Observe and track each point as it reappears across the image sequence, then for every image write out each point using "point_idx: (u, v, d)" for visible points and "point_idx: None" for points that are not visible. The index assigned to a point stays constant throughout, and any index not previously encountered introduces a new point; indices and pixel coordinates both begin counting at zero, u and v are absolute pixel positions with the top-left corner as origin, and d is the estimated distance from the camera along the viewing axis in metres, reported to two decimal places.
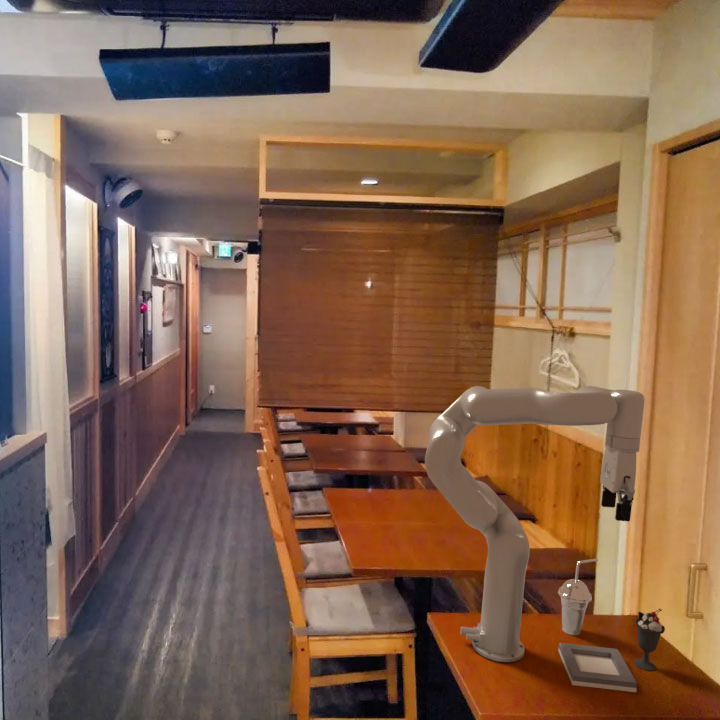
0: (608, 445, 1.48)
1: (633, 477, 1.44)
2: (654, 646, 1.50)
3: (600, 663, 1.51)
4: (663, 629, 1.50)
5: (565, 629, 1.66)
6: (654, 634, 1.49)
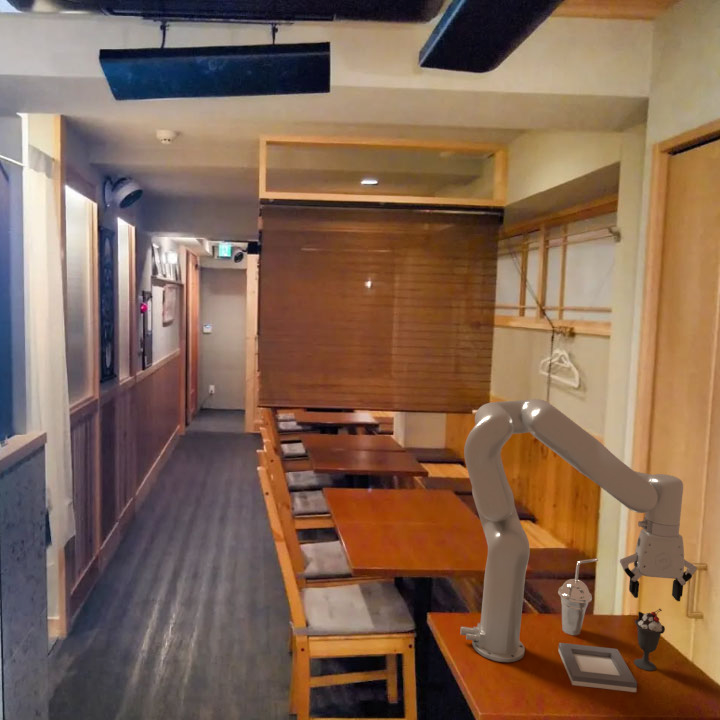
0: (672, 536, 1.46)
1: None
2: (654, 646, 1.50)
3: (600, 663, 1.51)
4: (663, 629, 1.50)
5: (565, 629, 1.66)
6: (654, 634, 1.49)
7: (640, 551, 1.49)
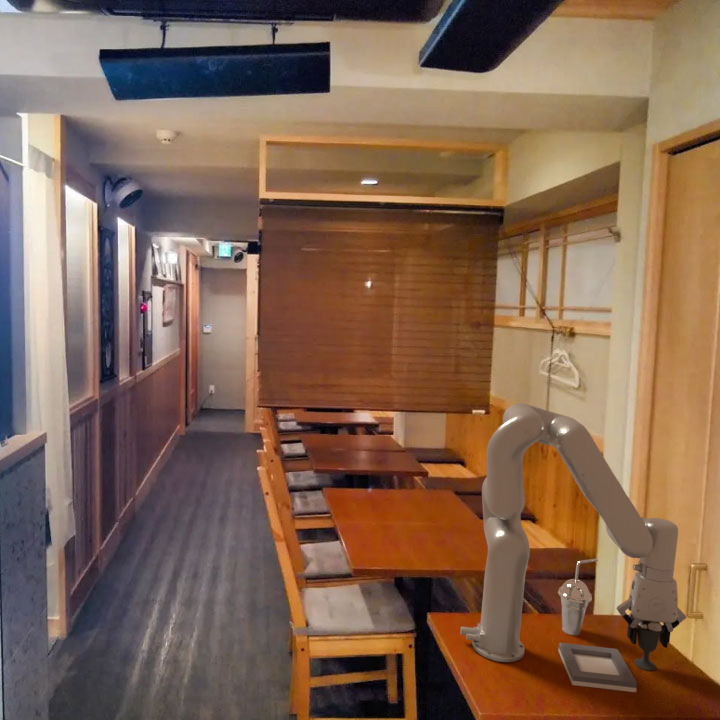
0: (666, 581, 1.47)
1: None
2: (654, 646, 1.50)
3: (600, 663, 1.51)
4: (663, 629, 1.50)
5: (565, 629, 1.66)
6: (654, 634, 1.49)
7: (634, 595, 1.50)
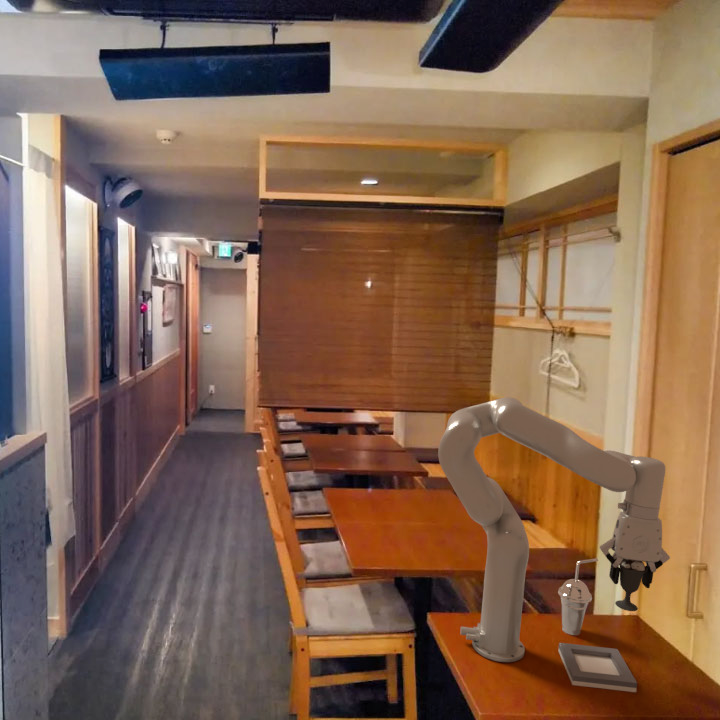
0: (651, 518, 1.44)
1: None
2: (636, 586, 1.47)
3: (600, 663, 1.51)
4: (646, 569, 1.47)
5: (565, 629, 1.66)
6: (637, 573, 1.46)
7: (618, 533, 1.47)
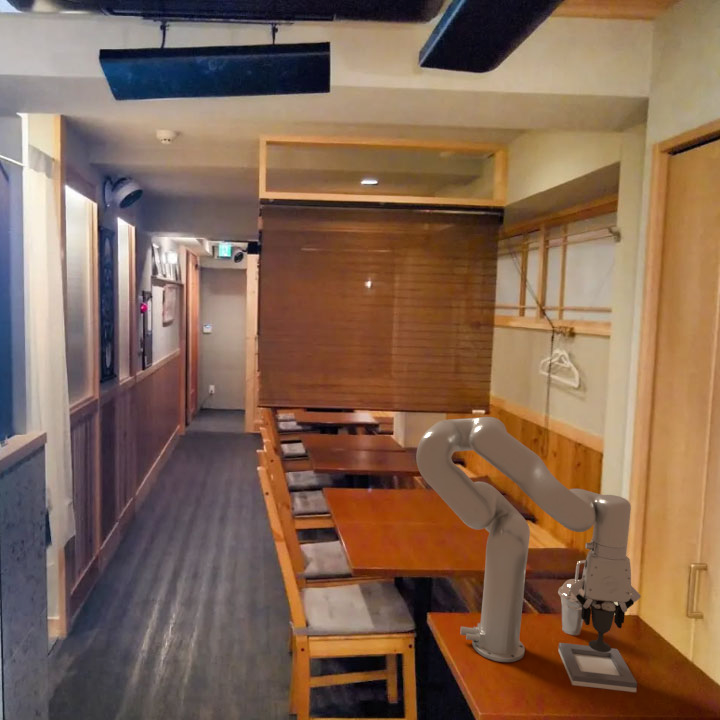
0: (618, 558, 1.43)
1: None
2: (608, 626, 1.46)
3: (600, 663, 1.51)
4: (617, 609, 1.46)
5: (565, 629, 1.66)
6: (607, 614, 1.45)
7: (586, 574, 1.45)
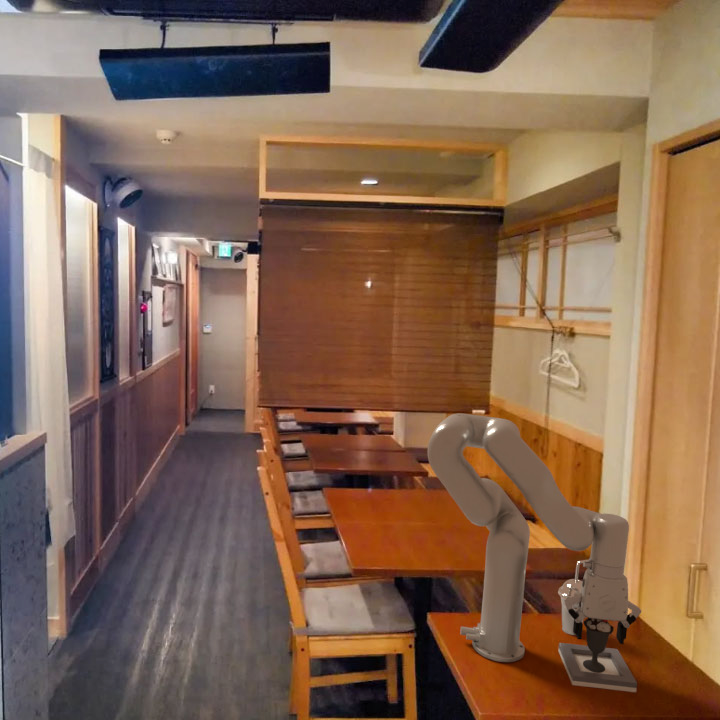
0: (616, 578, 1.43)
1: None
2: (602, 647, 1.46)
3: None
4: (612, 629, 1.46)
5: (565, 629, 1.66)
6: (602, 635, 1.45)
7: (584, 592, 1.46)
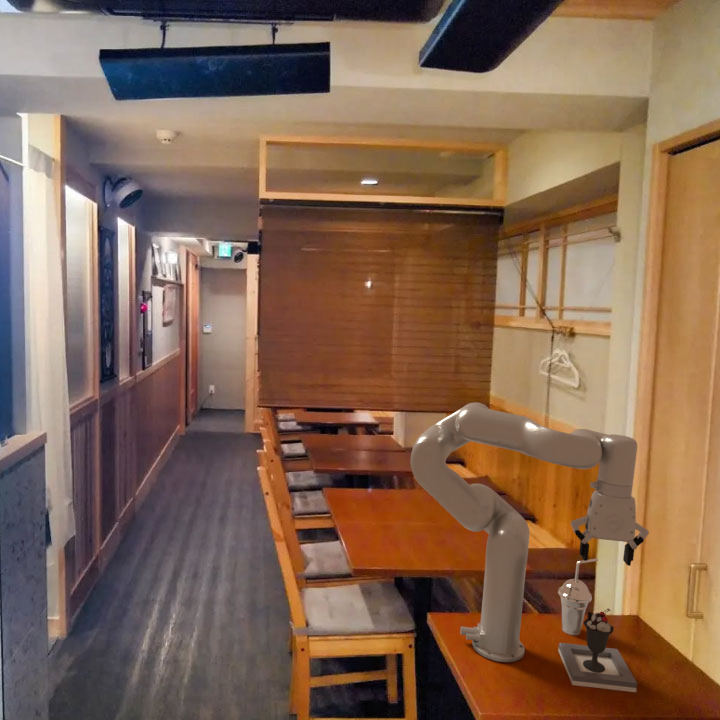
0: (623, 497, 1.42)
1: None
2: (602, 647, 1.46)
3: None
4: (612, 629, 1.46)
5: (565, 629, 1.66)
6: (602, 635, 1.45)
7: (591, 512, 1.45)
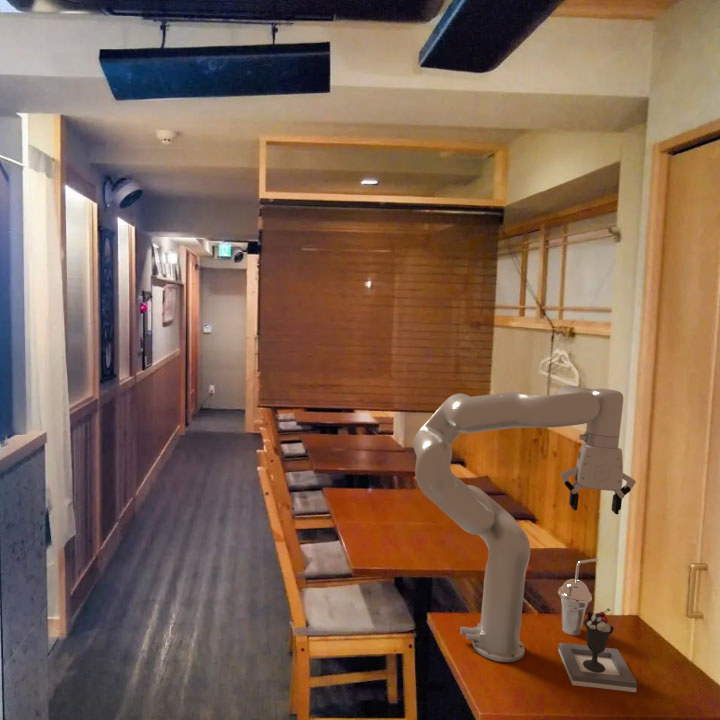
0: (611, 447, 1.48)
1: None
2: (602, 647, 1.46)
3: None
4: (612, 629, 1.46)
5: (565, 629, 1.66)
6: (602, 635, 1.45)
7: (580, 463, 1.50)
